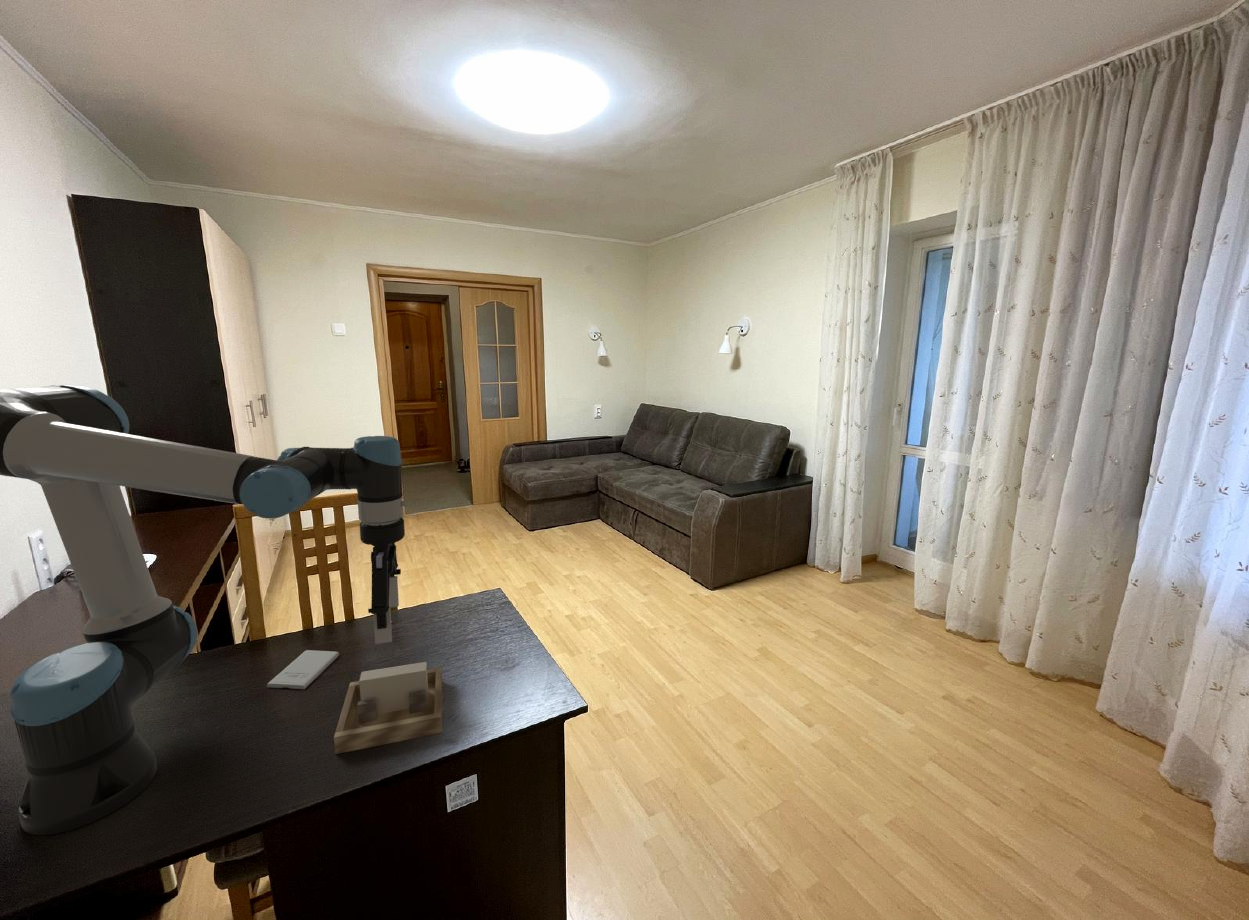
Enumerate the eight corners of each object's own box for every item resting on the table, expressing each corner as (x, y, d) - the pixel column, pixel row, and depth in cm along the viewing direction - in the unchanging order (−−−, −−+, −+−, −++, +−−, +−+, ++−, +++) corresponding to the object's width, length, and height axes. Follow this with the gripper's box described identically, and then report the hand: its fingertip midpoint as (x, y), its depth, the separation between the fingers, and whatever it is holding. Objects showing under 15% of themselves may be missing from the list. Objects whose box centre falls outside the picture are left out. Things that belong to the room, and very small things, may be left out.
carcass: (335, 754, 90) (333, 730, 89) (351, 697, 104) (349, 676, 103) (441, 732, 95) (440, 709, 94) (442, 681, 110) (441, 661, 109)
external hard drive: (339, 657, 119) (304, 691, 106) (305, 655, 119) (267, 689, 107) (338, 651, 118) (303, 684, 106) (305, 649, 119) (266, 682, 106)
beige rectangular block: (362, 717, 97) (359, 680, 96) (364, 707, 100) (361, 671, 99) (427, 705, 101) (425, 670, 100) (428, 695, 104) (426, 661, 102)
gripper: (397, 541, 82) (403, 656, 87) (408, 499, 105) (412, 592, 110) (346, 544, 80) (355, 663, 84) (369, 501, 103) (375, 596, 107)
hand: (387, 623), depth 97 cm, fingers open, 13 cm apart
